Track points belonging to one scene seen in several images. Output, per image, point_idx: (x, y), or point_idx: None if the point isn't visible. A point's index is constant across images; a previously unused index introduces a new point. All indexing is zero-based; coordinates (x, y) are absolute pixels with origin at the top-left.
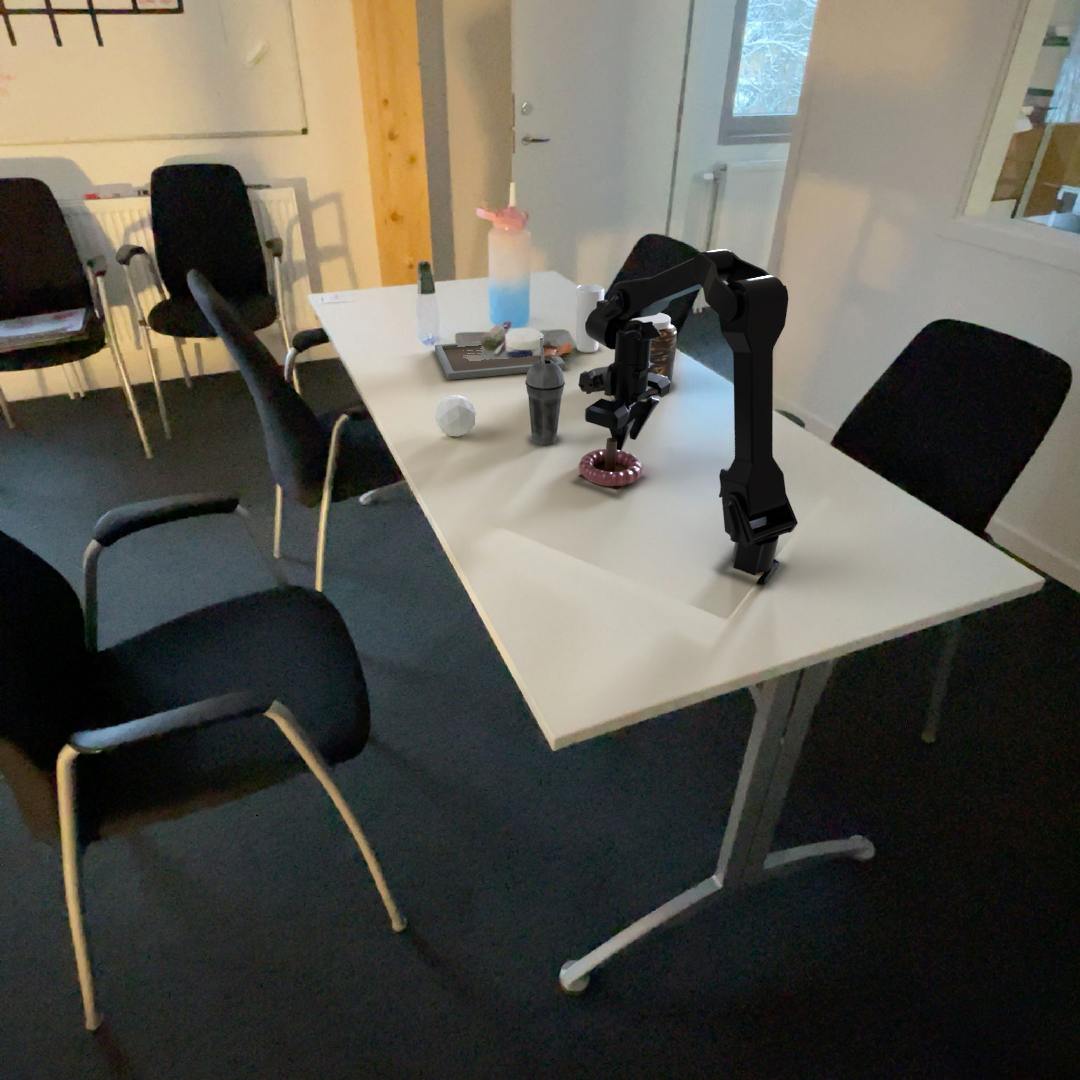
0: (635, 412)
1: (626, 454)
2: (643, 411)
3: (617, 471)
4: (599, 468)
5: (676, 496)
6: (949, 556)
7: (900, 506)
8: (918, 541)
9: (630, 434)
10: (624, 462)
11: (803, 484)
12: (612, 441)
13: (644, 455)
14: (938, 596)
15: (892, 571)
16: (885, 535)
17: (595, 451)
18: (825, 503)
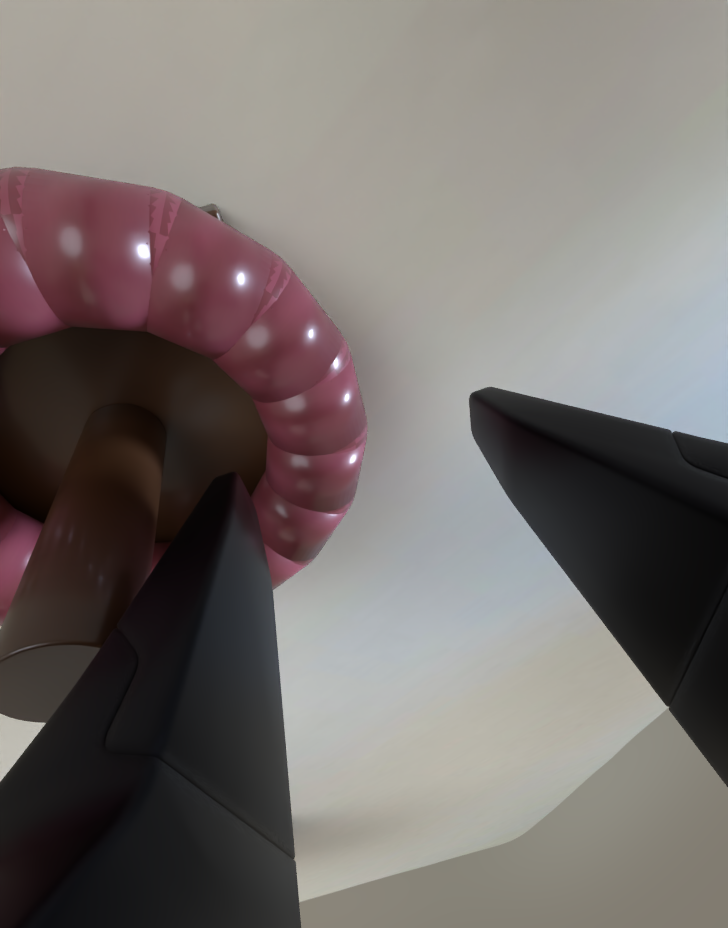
0: (708, 613)
1: (312, 458)
2: (721, 720)
3: (202, 436)
4: (96, 336)
5: (324, 626)
6: (513, 814)
7: (620, 734)
8: (527, 793)
9: (489, 413)
10: (266, 460)
11: (620, 659)
12: (46, 711)
13: (536, 294)
14: (409, 863)
15: (421, 836)
16: (514, 783)
17: (72, 270)
18: (562, 714)
